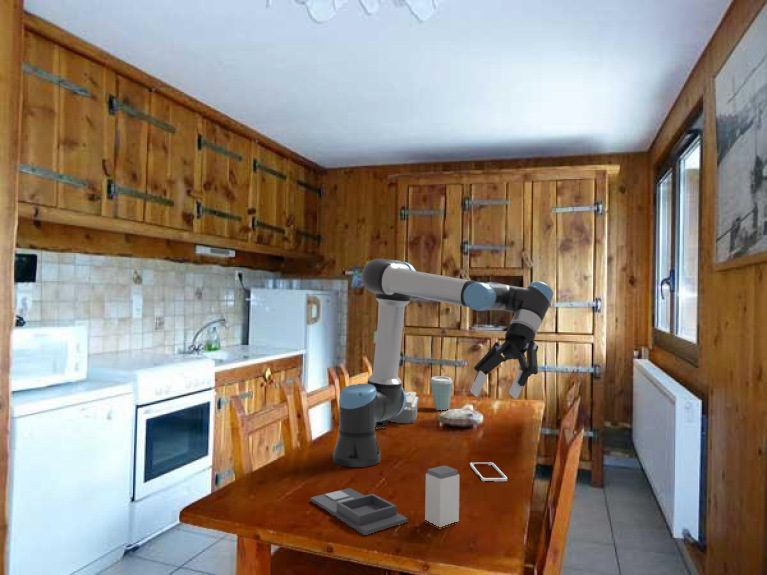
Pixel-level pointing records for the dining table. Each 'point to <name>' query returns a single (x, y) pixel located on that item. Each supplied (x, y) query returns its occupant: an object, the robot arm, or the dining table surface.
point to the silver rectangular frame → (489, 478)
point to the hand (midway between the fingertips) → (492, 394)
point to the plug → (442, 496)
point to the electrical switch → (381, 424)
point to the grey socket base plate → (360, 510)
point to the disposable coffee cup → (441, 392)
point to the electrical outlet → (408, 409)
